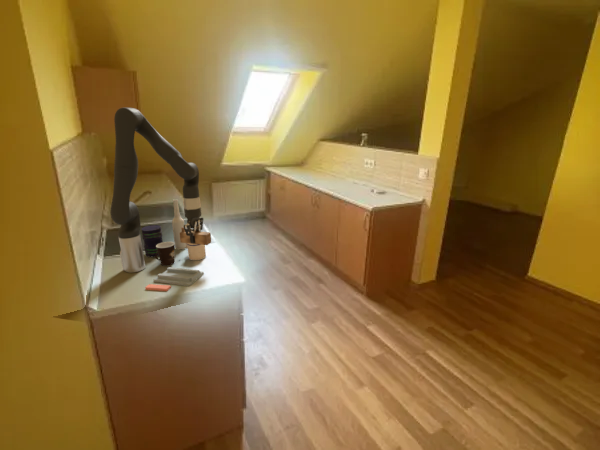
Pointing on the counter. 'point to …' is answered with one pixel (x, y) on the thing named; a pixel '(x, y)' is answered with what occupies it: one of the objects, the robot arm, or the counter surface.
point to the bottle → (177, 226)
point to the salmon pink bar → (158, 287)
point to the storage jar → (151, 239)
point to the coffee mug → (166, 253)
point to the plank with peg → (196, 237)
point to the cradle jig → (179, 276)
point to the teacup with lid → (196, 251)
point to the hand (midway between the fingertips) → (195, 241)
